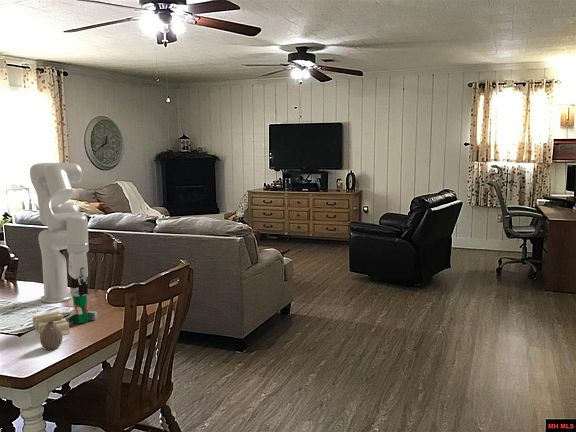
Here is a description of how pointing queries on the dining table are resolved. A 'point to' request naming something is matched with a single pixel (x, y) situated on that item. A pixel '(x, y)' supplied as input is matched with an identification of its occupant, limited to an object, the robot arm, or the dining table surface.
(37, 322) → the bore beam
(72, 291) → the lightbulb
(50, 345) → the brown egg-shaped piece
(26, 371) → the dining table surface
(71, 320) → the grey angled tube
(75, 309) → the soda can
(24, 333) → the dining table surface
